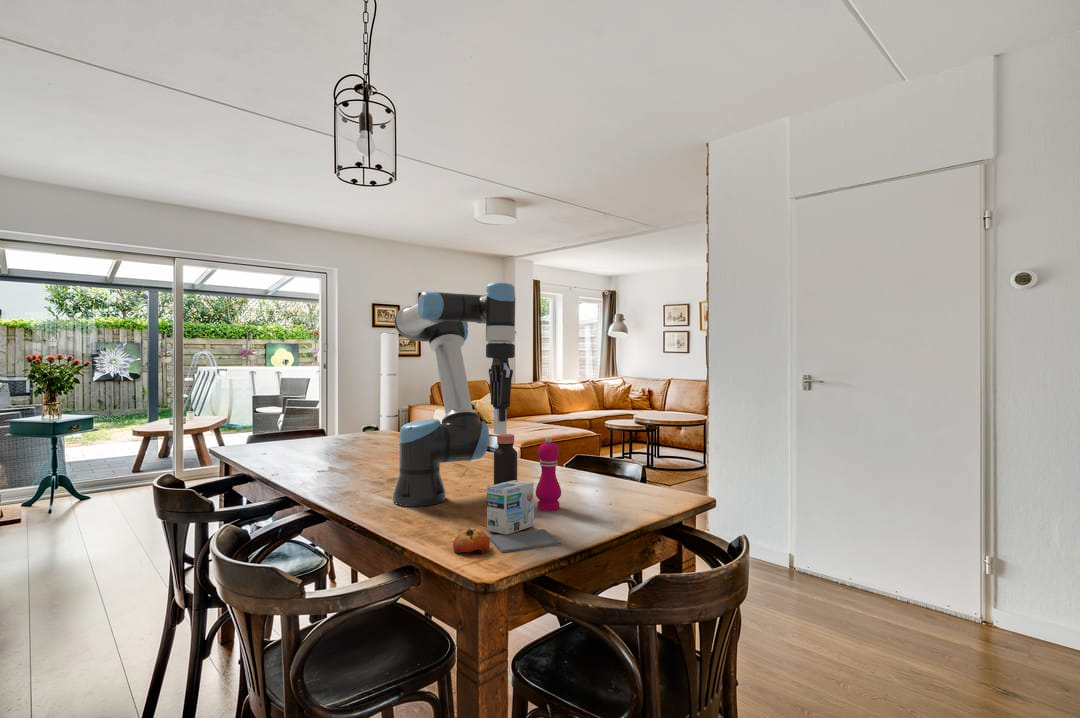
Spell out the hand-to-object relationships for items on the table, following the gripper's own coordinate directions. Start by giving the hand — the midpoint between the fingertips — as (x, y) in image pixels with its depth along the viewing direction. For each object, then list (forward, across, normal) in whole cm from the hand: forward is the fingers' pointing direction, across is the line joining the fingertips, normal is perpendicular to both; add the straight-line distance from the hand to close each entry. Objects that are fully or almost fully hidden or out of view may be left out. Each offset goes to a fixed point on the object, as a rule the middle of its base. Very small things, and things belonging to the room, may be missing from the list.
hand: (499, 433), depth 139 cm
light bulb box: (+22, -9, 0) cm, 24 cm away
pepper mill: (+23, +5, -16) cm, 28 cm away
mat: (+22, -18, 0) cm, 29 cm away
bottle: (+23, +13, -6) cm, 27 cm away
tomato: (+23, -19, +13) cm, 32 cm away
